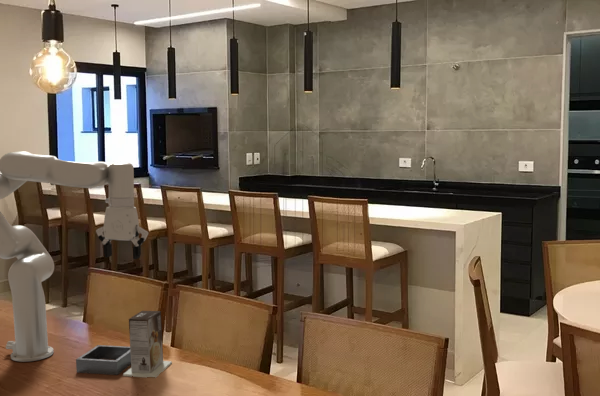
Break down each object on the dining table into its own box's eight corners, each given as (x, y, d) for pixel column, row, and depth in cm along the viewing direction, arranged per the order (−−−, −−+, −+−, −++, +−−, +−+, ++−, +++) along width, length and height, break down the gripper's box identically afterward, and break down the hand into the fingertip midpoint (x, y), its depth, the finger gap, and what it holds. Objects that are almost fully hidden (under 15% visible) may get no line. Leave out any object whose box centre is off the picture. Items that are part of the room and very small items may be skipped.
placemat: (123, 376, 190) (123, 374, 190) (141, 361, 202) (141, 359, 202) (155, 378, 188) (155, 375, 188) (171, 363, 200) (171, 361, 200)
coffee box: (144, 361, 200) (141, 309, 198) (163, 362, 199) (161, 310, 197) (130, 372, 191) (128, 318, 189) (151, 373, 190) (149, 319, 188)
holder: (76, 372, 193) (75, 359, 193) (98, 357, 206) (97, 345, 206) (117, 375, 191) (116, 361, 190) (137, 359, 204) (136, 347, 203)
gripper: (89, 203, 201) (90, 258, 203) (141, 205, 197) (142, 261, 199) (102, 200, 209) (103, 253, 210) (152, 202, 205) (153, 256, 206)
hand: (122, 257), depth 205 cm, fingers open, 9 cm apart
